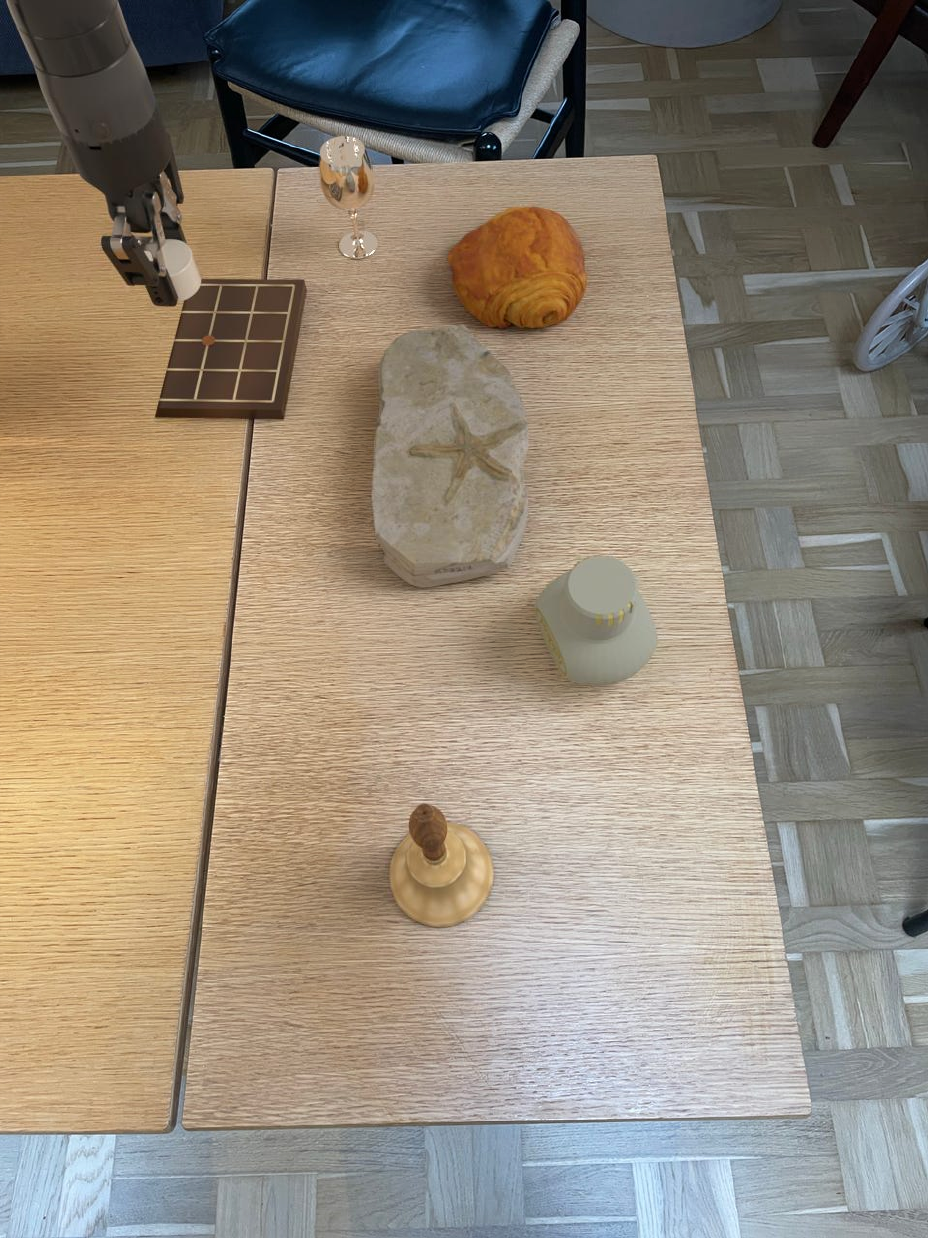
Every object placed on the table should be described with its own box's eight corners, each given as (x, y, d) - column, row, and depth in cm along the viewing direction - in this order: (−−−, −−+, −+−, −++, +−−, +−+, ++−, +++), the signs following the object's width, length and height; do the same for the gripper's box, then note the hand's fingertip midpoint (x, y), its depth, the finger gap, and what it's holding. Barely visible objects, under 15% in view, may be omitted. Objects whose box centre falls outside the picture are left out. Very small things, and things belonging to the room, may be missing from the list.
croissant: (567, 245, 112) (571, 178, 106) (595, 331, 103) (601, 264, 97) (442, 258, 112) (438, 192, 105) (459, 346, 102) (456, 279, 96)
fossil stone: (384, 357, 103) (377, 320, 98) (523, 353, 102) (524, 315, 98) (372, 589, 90) (364, 559, 85) (532, 586, 89) (533, 556, 85)
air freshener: (525, 606, 88) (526, 547, 80) (608, 575, 90) (619, 514, 81) (574, 710, 84) (582, 660, 75) (662, 676, 85) (680, 623, 76)
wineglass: (366, 269, 109) (350, 176, 98) (323, 252, 110) (303, 158, 100) (393, 236, 111) (380, 142, 101) (351, 220, 113) (334, 125, 102)
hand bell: (367, 878, 78) (335, 822, 64) (438, 801, 80) (422, 731, 66) (444, 950, 75) (429, 908, 61) (515, 868, 78) (516, 810, 64)
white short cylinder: (142, 302, 87) (131, 276, 85) (154, 264, 90) (144, 237, 87) (195, 304, 87) (185, 278, 84) (206, 265, 89) (197, 238, 87)
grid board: (111, 416, 101) (105, 406, 99) (147, 288, 109) (142, 277, 108) (284, 419, 100) (280, 409, 98) (306, 289, 108) (304, 278, 106)
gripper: (80, 45, 77) (150, 224, 92) (28, 169, 70) (113, 340, 85) (173, 46, 76) (229, 226, 91) (130, 171, 69) (197, 343, 85)
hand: (172, 280), depth 88 cm, fingers closed on white short cylinder, 4 cm apart
